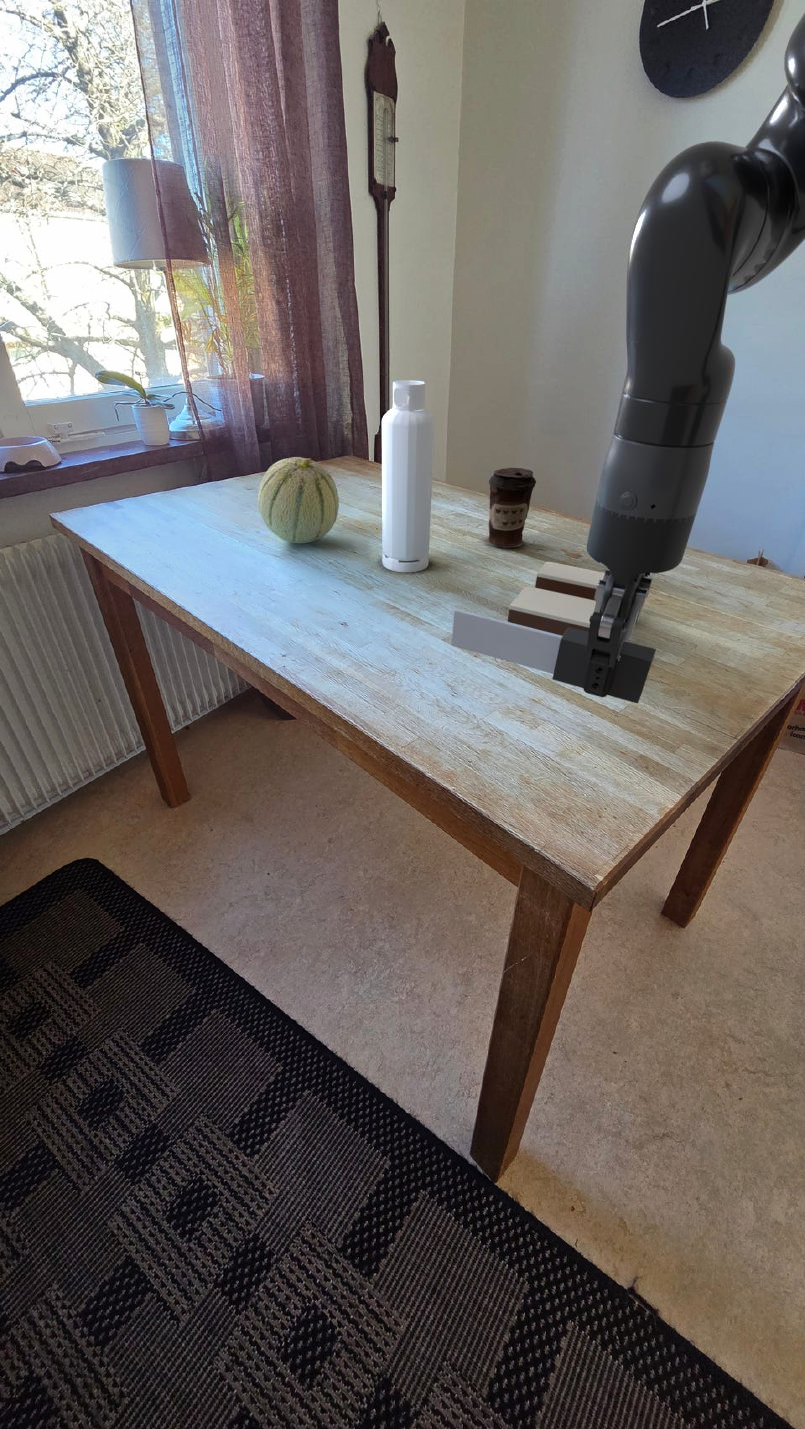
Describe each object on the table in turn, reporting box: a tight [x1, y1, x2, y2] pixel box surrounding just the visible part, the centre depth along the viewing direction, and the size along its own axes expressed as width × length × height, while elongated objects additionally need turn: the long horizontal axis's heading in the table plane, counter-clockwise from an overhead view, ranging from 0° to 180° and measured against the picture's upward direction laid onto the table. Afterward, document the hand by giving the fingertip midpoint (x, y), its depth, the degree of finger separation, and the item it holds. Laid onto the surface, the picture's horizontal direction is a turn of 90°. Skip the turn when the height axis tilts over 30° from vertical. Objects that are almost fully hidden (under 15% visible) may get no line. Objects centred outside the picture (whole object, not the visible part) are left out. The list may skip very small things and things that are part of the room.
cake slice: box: [534, 561, 605, 601], centre depth 90 cm, size 12×5×6 cm, turn 63°
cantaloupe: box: [257, 456, 340, 544], centre depth 109 cm, size 15×15×15 cm
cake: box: [507, 585, 596, 636], centre depth 82 cm, size 12×7×6 cm, turn 62°
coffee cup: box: [488, 467, 537, 549], centre depth 110 cm, size 9×8×13 cm
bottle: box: [381, 379, 436, 573], centre depth 97 cm, size 8×8×28 cm
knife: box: [450, 608, 657, 704], centre depth 58 cm, size 19×3×4 cm, turn 63°
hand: (599, 684), depth 57 cm, fingers closed on knife, 2 cm apart
